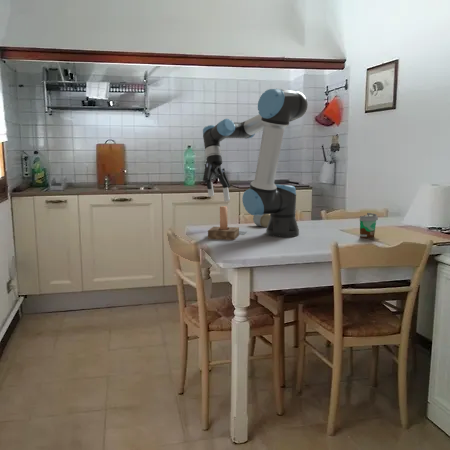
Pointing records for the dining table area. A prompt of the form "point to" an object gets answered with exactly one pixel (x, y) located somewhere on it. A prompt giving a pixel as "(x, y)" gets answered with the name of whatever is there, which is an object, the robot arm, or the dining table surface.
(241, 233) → the mat
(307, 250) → the dining table surface
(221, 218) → the dowel
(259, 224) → the grey beige can
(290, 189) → the robot arm
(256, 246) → the dining table surface
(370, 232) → the food container
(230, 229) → the socket block
